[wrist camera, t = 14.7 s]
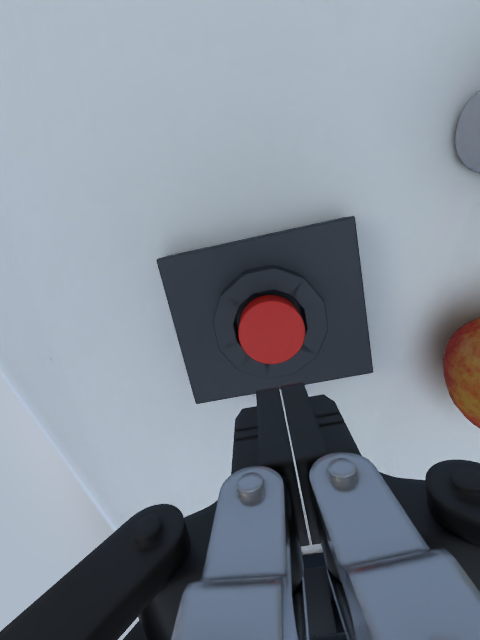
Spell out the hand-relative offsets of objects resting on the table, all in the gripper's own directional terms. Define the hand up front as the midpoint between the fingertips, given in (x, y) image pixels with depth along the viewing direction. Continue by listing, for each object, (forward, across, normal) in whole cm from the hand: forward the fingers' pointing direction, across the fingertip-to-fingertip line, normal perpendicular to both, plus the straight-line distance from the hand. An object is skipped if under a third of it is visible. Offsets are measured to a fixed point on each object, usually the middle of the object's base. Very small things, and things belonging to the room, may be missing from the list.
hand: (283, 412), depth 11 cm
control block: (+13, 0, 0) cm, 13 cm away
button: (+9, 0, 0) cm, 9 cm away
